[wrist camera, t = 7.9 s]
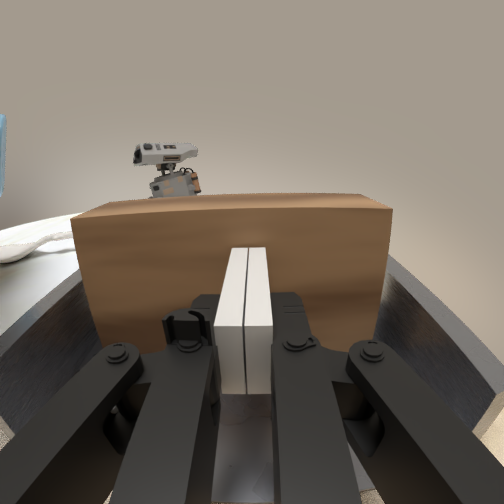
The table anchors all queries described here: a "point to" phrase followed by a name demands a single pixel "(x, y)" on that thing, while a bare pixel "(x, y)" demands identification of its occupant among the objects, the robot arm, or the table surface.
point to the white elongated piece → (28, 247)
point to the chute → (246, 405)
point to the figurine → (169, 168)
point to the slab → (218, 253)
